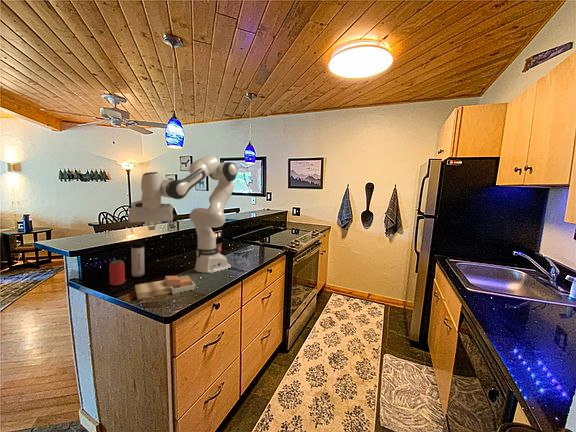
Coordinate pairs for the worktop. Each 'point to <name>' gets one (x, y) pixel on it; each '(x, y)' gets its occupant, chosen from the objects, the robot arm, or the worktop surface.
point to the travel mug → (137, 258)
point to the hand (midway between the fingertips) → (151, 229)
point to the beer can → (117, 272)
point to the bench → (152, 289)
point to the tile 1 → (172, 280)
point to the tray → (176, 289)
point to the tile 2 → (185, 282)
